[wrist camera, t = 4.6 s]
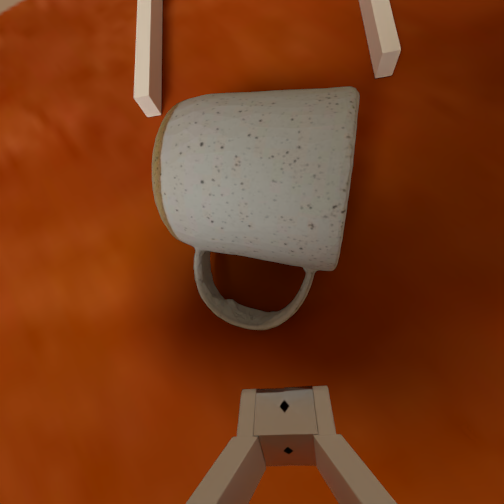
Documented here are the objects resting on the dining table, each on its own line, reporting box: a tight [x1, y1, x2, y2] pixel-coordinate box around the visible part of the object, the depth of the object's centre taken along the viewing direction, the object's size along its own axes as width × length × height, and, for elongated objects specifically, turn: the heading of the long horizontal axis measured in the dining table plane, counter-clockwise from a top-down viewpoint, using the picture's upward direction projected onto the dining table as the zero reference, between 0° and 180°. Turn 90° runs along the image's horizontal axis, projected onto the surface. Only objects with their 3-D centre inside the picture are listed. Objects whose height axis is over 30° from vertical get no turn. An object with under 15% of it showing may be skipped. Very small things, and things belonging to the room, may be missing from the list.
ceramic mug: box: [152, 86, 360, 330], centre depth 14 cm, size 11×8×8 cm
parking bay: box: [134, 0, 401, 117], centre depth 21 cm, size 16×13×2 cm
